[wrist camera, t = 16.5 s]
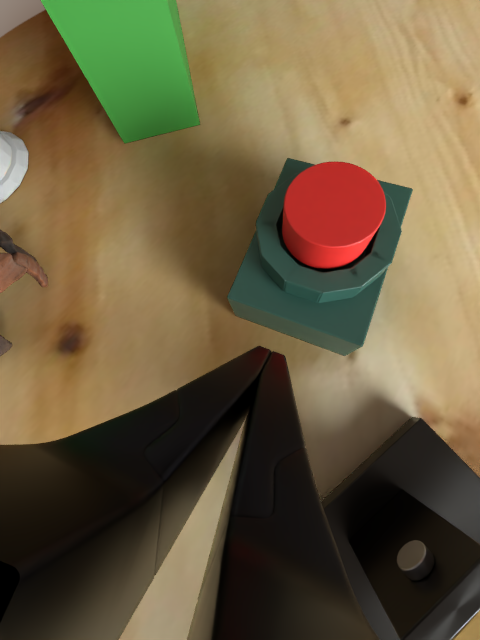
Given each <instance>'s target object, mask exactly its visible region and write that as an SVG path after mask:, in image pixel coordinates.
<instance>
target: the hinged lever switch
mask: <svg viewBox="0 0 480 640" xmlns="http://www.w3.org/2000/svg"><path fill="white" fill-rule="evenodd" d="M321 503H322V506H323V509H324V512H325V515H326V518H327V521H328V523H329V526H330V529H331V532H332V535H333V537H334V540H335V543H336V546H337V549H338V552H339V554H340V557H341V560H342V563H343V566H344V568H345V571H346V574H347V577H348V579H349V582H350V585H351V588H352V590H353V592H354V594H355V597H356V599H357V601H358V603H359V605H360V607H361V609H362V611H363V613H364V615H365V617H366V618H367V620H368V622H369V624H370V625H371V627H372V628H373V630H374V632H375V633H376V635H377V636H378V637H379V639H380V640H451V639H452V638H453V637H454V636H455V635H456V634H457V633H458V632H459V631H460V630H461V629H462V628H463V627H464V626H465V625H466V624H467V623H468V622H469V621H470V620H471V619H472V618H473V617H474V616H475V615H476V614H477V613H478V612H479V611H480V478H479V477H478V476H477V475H476V474H475V472H474V471H473V470H472V469H471V468H470V467H469V466H468V465H467V464H466V463H465V462H464V461H463V460H462V459H461V458H460V457H459V456H458V455H457V454H456V453H455V452H454V451H453V450H452V449H451V448H450V447H449V446H448V445H447V444H446V443H445V442H444V441H443V440H442V439H441V438H440V437H439V436H438V435H437V434H436V433H435V432H434V431H433V430H432V429H431V428H430V427H429V425H428V424H427V423H426V422H425V421H424V420H423V419H421V418H416V417H412V418H411V419H410V420H409V421H408V422H407V423H405V424H404V425H403V426H402V427H401V428H400V429H399V430H398V431H397V432H396V433H395V434H394V435H393V436H391V437H390V438H389V439H388V440H387V441H386V442H385V443H384V444H383V445H382V446H381V447H380V448H379V449H377V450H376V451H375V452H374V453H373V454H372V455H371V456H370V457H369V458H368V459H367V460H366V461H365V462H364V463H362V464H361V465H360V466H359V467H358V468H357V469H356V470H355V471H354V472H353V473H352V474H351V475H350V476H348V477H347V478H346V479H345V480H344V481H343V482H342V483H341V484H340V485H339V486H338V487H337V488H336V489H334V490H333V491H332V492H331V493H330V494H329V495H328V496H327V497H326V498H325V499H324V500H323V501H322V502H321Z"/></svg>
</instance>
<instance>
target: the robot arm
mask: <svg viewBox="0 0 480 640" xmlns="http://www.w3.org/2000/svg"><path fill="white" fill-rule="evenodd" d="M246 416H247V417H246ZM245 418H246V421H245V424H244V427H243V431H242V435H241V439H240V442H239V446H238V450H237V454H236V457H235V461H234V465H233V469H232V473H231V476H230V480H229V484H228V488H227V491H226V495H225V499H224V503H223V506H222V510H221V514H220V518H219V521H218V525H217V529H216V533H215V536H214V540H213V544H212V548H211V551H210V555H209V559H208V563H207V566H206V570H205V574H204V578H203V582H202V585H201V589H200V593H199V597H198V602H197V604H196V608H195V612H194V615H193V619H192V623H191V627H190V630H189V634H188V638H187V640H380V639H379V637H378V636H377V635H376V633H375V632H374V630H373V628H372V627H371V625H370V624H369V622H368V620H367V618H366V617H365V615H364V613H363V611H362V609H361V607H360V605H359V603H358V601H357V599H356V597H355V594H354V592H353V590H352V588H351V585H350V582H349V579H348V577H347V574H346V571H345V568H344V566H343V563H342V560H341V557H340V554H339V552H338V549H337V546H336V543H335V540H334V537H333V535H332V532H331V529H330V526H329V523H328V521H327V518H326V515H325V512H324V509H323V506H322V503H321V500H320V497H319V494H318V491H317V488H316V485H315V482H314V478H313V474H312V470H311V466H310V463H309V458H308V454H307V449H306V448H305V441H304V437H303V433H302V428H301V424H300V419H299V415H298V411H297V406H296V402H295V397H294V393H293V389H292V384H291V380H290V375H289V371H288V367H287V362H286V358H285V356H284V355H282V354H280V353H277V352H274V351H273V352H271V351H270V350H269V349H267V348H264V347H261V346H257V347H255V348H253V349H251V350H250V351H248V352H246V353H244V354H242V355H240V356H238V357H236V358H235V359H233V360H231V361H229V362H227V363H225V364H223V365H221V366H220V367H218V368H216V369H214V370H212V371H210V372H208V373H206V374H205V375H203V376H201V377H199V378H197V379H195V380H193V381H191V382H190V383H188V384H186V385H184V386H182V387H180V388H178V389H177V390H174V391H172V392H171V393H169V394H167V395H165V396H163V397H161V398H159V399H157V400H155V401H153V402H151V403H149V404H147V405H145V406H142V407H140V408H138V409H135V410H133V411H131V412H128V413H126V414H123V415H121V416H119V417H116V418H114V419H111V420H109V421H106V422H104V423H101V424H99V425H96V426H94V427H91V428H89V429H86V430H84V431H81V432H79V433H76V434H74V435H71V436H68V437H66V438H62V439H59V440H55V441H51V442H46V443H40V444H26V445H0V640H118V639H119V638H120V636H121V634H122V632H123V631H124V629H125V627H126V625H127V624H128V622H129V620H130V619H131V617H132V615H133V613H134V612H135V610H136V608H137V606H138V605H139V603H140V601H141V599H142V598H143V596H144V594H145V593H146V591H147V589H148V587H149V586H150V584H151V582H152V580H153V579H154V576H155V575H156V573H157V572H158V570H159V568H160V566H161V565H162V563H163V561H164V559H165V558H166V556H167V554H168V552H169V551H170V549H171V547H172V546H173V544H174V542H175V540H176V539H177V537H178V535H179V533H180V532H181V530H182V528H183V526H184V525H185V523H186V521H187V520H188V518H189V516H190V514H191V513H192V511H193V509H194V507H195V506H196V504H197V502H198V500H199V499H200V497H201V495H202V494H203V492H204V490H205V488H206V487H207V485H208V483H209V481H210V480H211V478H212V476H213V474H214V473H215V471H216V469H217V467H218V466H219V464H220V462H221V461H222V459H223V457H224V455H225V454H226V452H227V450H228V448H229V447H230V445H231V443H232V441H233V440H234V438H235V436H236V435H237V433H238V431H239V429H240V428H241V426H242V424H243V422H244V420H245Z"/></svg>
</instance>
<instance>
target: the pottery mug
mask: <svg viewBox="0 0 480 640" xmlns="http://www.w3.org/2000/svg"><path fill="white" fill-rule="evenodd" d="M0 247H2V248H3V249H4V250H5V251H6V252H7V253H0V293H1V292H3V291H4V290H5V289H6V288H7V287H8V286H9V285H11V284H12V283H14V282H15V281H17V280H19V279H20V278H21V277H22V276H23V275H24V274H25V272H26V273H28V274H30V275H31V276H33V277H34V278H35V279H36V280H37V281H38V283H39V284H40V285H41V286H42V287H47V286H48V278H47V276H46V274H45V273H44V271H43V268H42V267H40V266H39V264H38V263H37V260H36V259H35V258H34V257H33V256H32V255H30V254H29V253H27V252H26V251H25V250H23V249H22V248H20V247H18V246H16V245H15V244H13V240H12V238H11V237H10V236H9V235H8V234H6V233H5V232H3V231H1V230H0ZM11 347H12V343H11V342H9V341H8V340H6V339H5V338H4V337H2V336H1V335H0V356H1V355H3V354H4V353H5V352H7V351H8V350H9V349H10V348H11Z"/></svg>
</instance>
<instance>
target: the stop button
mask: <svg viewBox="0 0 480 640" xmlns="http://www.w3.org/2000/svg"><path fill="white" fill-rule="evenodd" d="M385 211H386V199H385V195H384V192H383V189H382V187H381V186H380V184H379V182H378V181H377V180H376V179H375V178H374V177H373V176H372V175H371V174H370V173H369V172H367V171H366V170H364V169H362V168H361V167H358V166H356V165H353V164H350V163H345V162H325V163H321V164H317V165H314V166H312V167H310V168H308V169H306V170H304V171H303V172H301V173H300V174H299V175H298V176H297V177H296V178H295V179H294V180H293V181H292V182H291V184H290V185H289V187H288V189H287V191H286V194H285V198H284V208H283V224H282V235H283V240H284V243H285V245H286V247H287V249H288V250H289V252H290V253H291V254H292V255H293V256H294V257H295V258H296V259H297V260H299V261H300V262H302V263H304V264H306V265H308V266H311V267H314V268H319V269H334V268H339V267H342V266H345V265H347V264H349V263H351V262H353V261H354V260H356V259H357V258H358V257H359V256H360V255H361V254H362V253H363V251H364V250H365V248H366V247H367V245H368V244H369V242H370V240H371V239H372V237H373V236H374V234H375V232H376V231H377V229H378V228H379V226H380V225H381V223H382V221H383V218H384V215H385Z"/></svg>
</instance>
